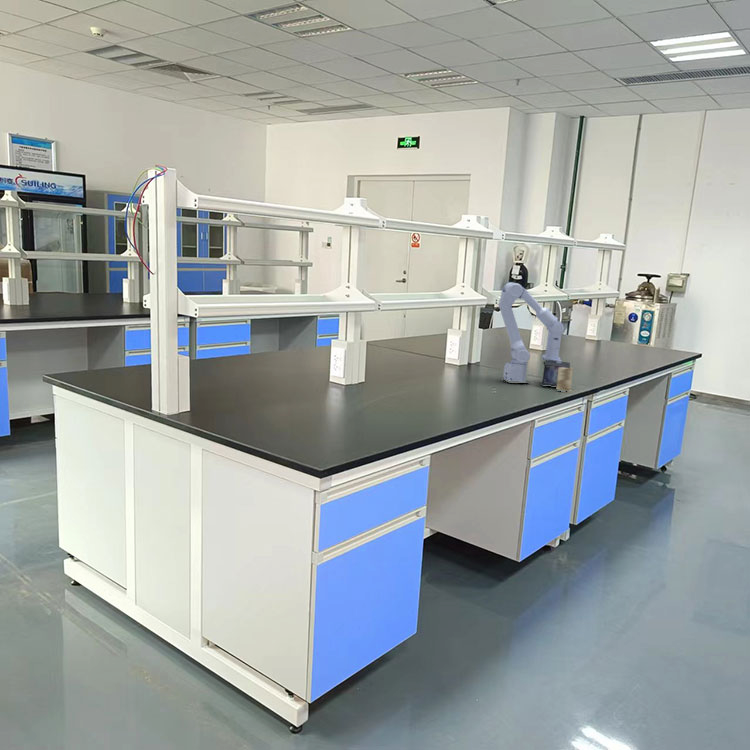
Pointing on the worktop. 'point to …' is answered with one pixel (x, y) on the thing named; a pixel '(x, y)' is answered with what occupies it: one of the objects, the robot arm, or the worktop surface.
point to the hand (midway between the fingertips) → (549, 378)
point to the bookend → (564, 379)
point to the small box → (552, 372)
